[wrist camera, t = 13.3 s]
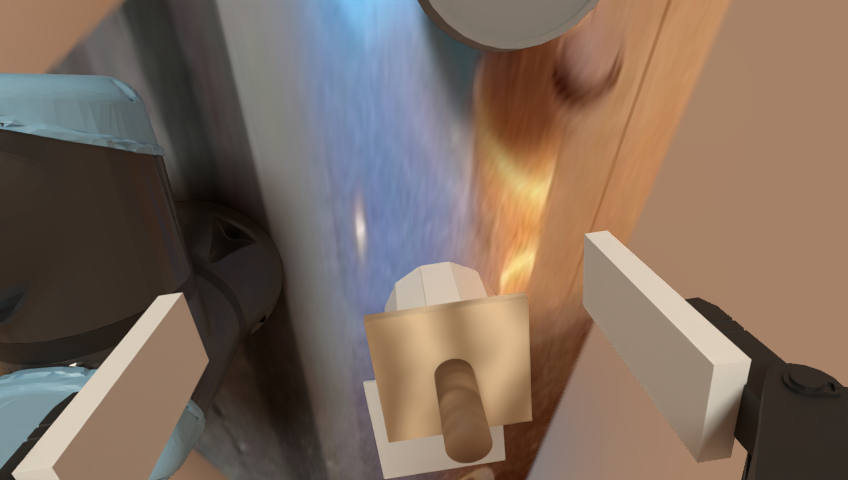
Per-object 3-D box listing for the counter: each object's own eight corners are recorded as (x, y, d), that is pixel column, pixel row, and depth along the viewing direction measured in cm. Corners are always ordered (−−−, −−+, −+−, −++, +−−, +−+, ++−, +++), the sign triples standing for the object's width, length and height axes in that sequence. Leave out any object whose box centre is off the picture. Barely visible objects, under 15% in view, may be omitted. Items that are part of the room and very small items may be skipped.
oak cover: (388, 434, 46) (390, 521, 38) (364, 315, 41) (360, 387, 32) (529, 412, 47) (560, 494, 39) (524, 291, 41) (560, 357, 33)
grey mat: (384, 476, 62) (384, 479, 62) (363, 381, 55) (363, 383, 55) (504, 457, 62) (505, 460, 62) (498, 360, 56) (498, 363, 55)
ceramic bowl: (394, 362, 55) (397, 425, 46) (378, 271, 50) (377, 323, 41) (497, 347, 55) (518, 406, 46) (490, 255, 50) (514, 303, 41)
